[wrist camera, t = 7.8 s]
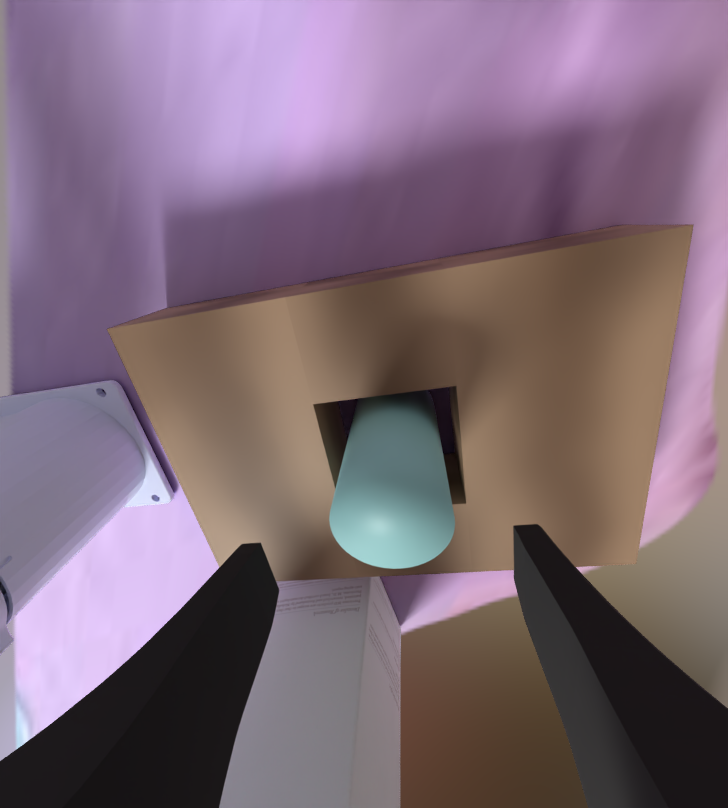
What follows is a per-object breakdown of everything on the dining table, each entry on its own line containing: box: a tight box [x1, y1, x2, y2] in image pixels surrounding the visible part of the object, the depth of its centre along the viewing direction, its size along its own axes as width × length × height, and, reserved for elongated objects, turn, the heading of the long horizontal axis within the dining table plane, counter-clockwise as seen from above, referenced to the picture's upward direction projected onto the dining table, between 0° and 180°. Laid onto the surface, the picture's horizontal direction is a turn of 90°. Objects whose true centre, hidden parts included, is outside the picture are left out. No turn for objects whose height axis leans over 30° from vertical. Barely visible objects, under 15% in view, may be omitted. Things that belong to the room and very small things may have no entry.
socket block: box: [107, 225, 693, 581], centre depth 17 cm, size 20×14×4 cm
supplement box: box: [219, 576, 401, 808], centre depth 20 cm, size 7×7×13 cm
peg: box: [329, 390, 455, 569], centre depth 15 cm, size 4×4×8 cm
